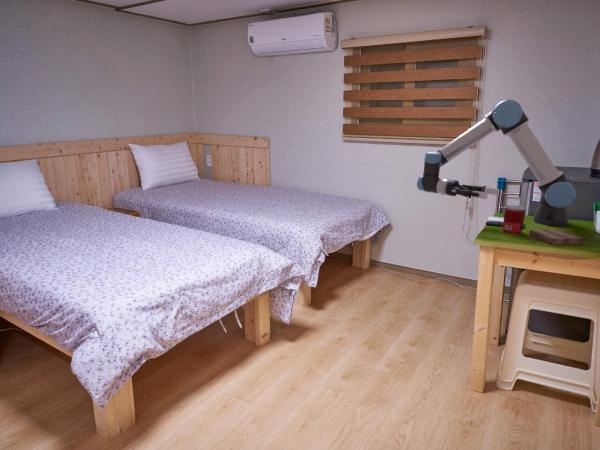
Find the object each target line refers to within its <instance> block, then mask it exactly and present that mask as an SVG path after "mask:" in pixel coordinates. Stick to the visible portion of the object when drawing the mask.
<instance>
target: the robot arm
mask: <svg viewBox="0 0 600 450" xmlns="http://www.w3.org/2000/svg"><path fill="white" fill-rule="evenodd" d="M522 107H523V106H522V105H521V104H520V103H519V102H518V101H516V100H514V99H511V98H510V99H503V100H501V101H499V102H498V103H497V104H496V105H495V106H494V108H493V109H492V110H490V111H489V112H488V113H486V114H485V115H484V116H485V117H484V118H483V119H482V120H481V121H479V122H477V123H476V124H475V125H473V126H471V128H468V130H466V131H465V132H463V133H462V134H460V135H459V136H458V137H455V138H454V139H453V140H452V141H450V142H448V143H447V144H446V145H444V146H443V147H442V148H440V149H438V150H437V151H427V152H425V155H424V158H423V159H424V164H423V165H424V166H423V175H420V176H419V177H418V179H417V182H416V187H417V189H418V190H419V191H423V192H426V193H432V194H440V195H441V196H443V195H444V196H445V195H447V196H452V197H455V196H457V195H459V196H462V197H466V198H468V199H471V198H477V199H483V200H487V199H488V195H493V196H499V195H500V190H501V189H499V188H492V187H487V185H484V186H482V185H468V184H460V181H459V180H457V179H450V178H449V179H448V178H443V177H439V176H440V172H441V171H440V170H441V168H442V167H443V166H444V165H446V164H447V163H449V162H450V161H452V160H453V159H455V158H457V156H459V155H461V154H462V153H463V152H465V151H466V150H468V149H469V148H471V147H472V146H474V145H475V144H477V143H478V142H480V141H481V140H484V138H487V136H489V135H490V134H492V133H494V132H498V131H501V133H502V134H503V136H506V137H507V136H508V137H509V138H510V139H511V141H512V143H513V144H514V145H515V146H514V147H516V149H517V151H518V152H519V153H520V155H521V157H522V158H523V159H524V161H525V162H526V164H527V165H528V166H527V167H529V169H530V171H531V172H532V173H533V175H534V176H535V178H536V179H537V185H536V186H537V188H538V190H539V191H540V192H541V193H540V201H539V205H538V207H537V209H536V210H535V214H533V219H532V221H534V222H535V223H538V224H542V225H545V226H556V227H558V226H559V227H563V226H569V224H570V217H569V212H568V206H570V205H572V203H573V202H574V201H575V199H576V195H577V194H576V188H575V186H574V185H572V182H573V177H572V176H571V175H567V174H565V173H564V171H560V170H558V169H557V167H556V165H554V163H553V162H552V160H551V159H550V157H549V155H548V154H547V152H546V151H545V149H544V148H543V146H542V145H541V143H540V142H539V140H538V138H537V136H535V134H534V133H533V131H532V130H531V128H530V126H529V122H530V121H529V118H528V116H527V115H526V113H525V111H524V110H523V108H522Z"/></svg>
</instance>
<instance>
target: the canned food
mask: <svg viewBox="0 0 600 450" xmlns="http://www.w3.org/2000/svg"><path fill="white" fill-rule="evenodd" d="M525 214H526V207H524V206H520V205H506V206H505V207H504V215H503V216H504V217H503V223H502V231H503V232H504V233H505V234H506V233H507V234H510V235H511V234H514V235H519V234H522V233H523V229H524V223H525Z"/></svg>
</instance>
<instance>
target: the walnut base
mask: <svg viewBox="0 0 600 450" xmlns="http://www.w3.org/2000/svg"><path fill="white" fill-rule="evenodd" d="M528 236H529V237H531V238H533V239H536V240H538V241H541V242H543V243H545V244H548V245H550V246H564V245H565V246H566V244H569V245H582V244H583V242H584V237H582V236H579V235H577V234H574V233H570V232H568V231H565V230H563V229H560V228H550V229H548V228H546V229H529V231H528Z"/></svg>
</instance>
